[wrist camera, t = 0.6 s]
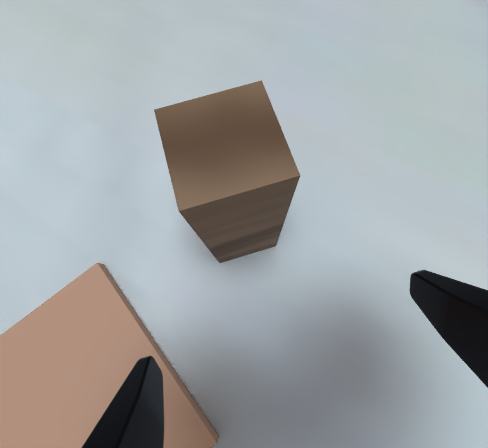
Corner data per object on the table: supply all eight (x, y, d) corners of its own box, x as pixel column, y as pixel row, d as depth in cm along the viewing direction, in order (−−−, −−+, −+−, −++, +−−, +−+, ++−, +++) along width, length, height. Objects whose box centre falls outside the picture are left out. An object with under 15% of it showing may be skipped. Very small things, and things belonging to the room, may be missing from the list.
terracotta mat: (218, 436, 19) (216, 442, 18) (15, 629, 17) (1, 649, 16) (103, 264, 23) (97, 262, 22) (-75, 399, 21) (-91, 403, 20)
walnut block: (275, 245, 23) (300, 175, 11) (219, 262, 23) (178, 211, 11) (258, 194, 25) (261, 80, 12) (205, 210, 24) (154, 109, 12)
